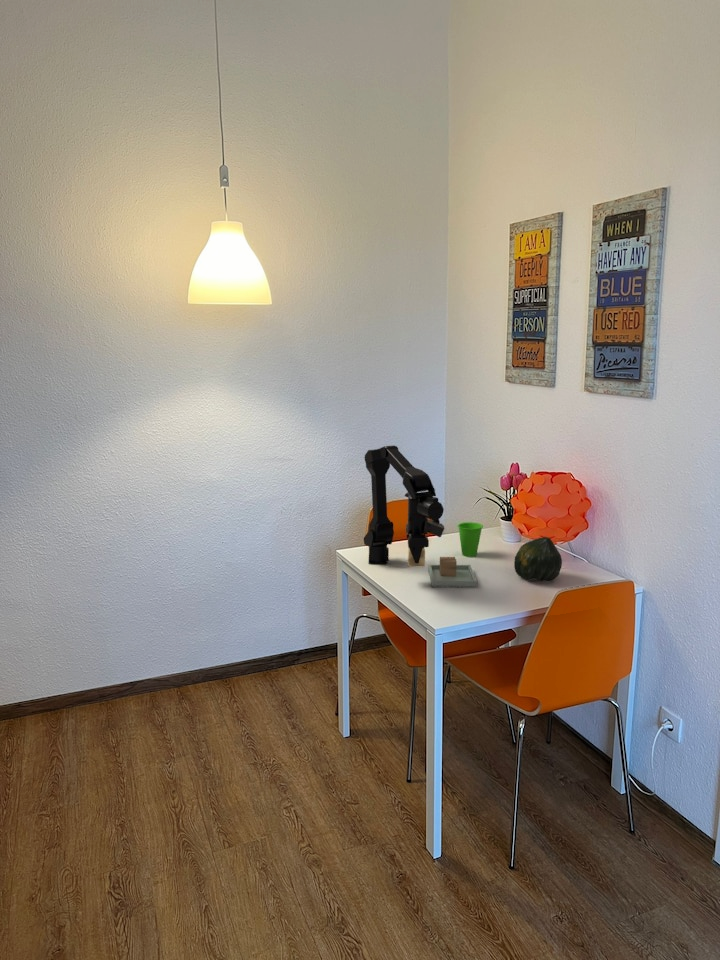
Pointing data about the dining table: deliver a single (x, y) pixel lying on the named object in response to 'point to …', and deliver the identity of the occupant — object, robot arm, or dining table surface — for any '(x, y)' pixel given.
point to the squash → (538, 560)
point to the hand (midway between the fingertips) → (416, 560)
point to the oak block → (411, 560)
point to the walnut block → (447, 566)
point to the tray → (453, 577)
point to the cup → (469, 537)
